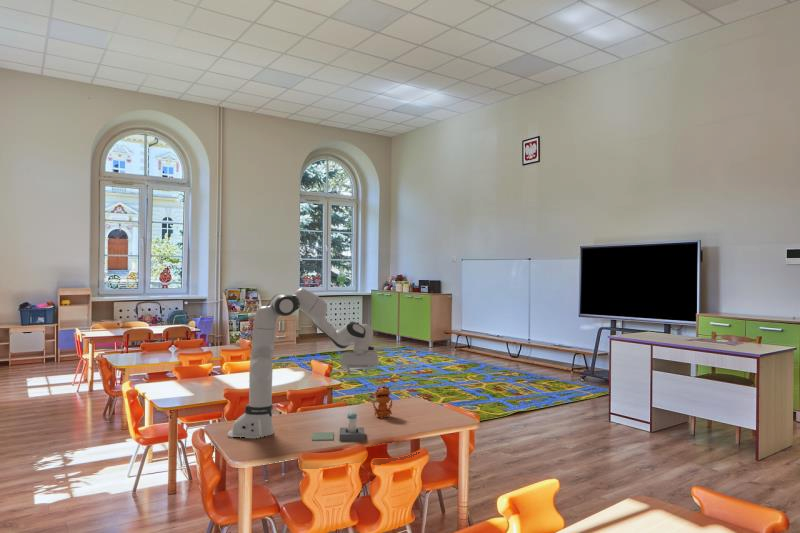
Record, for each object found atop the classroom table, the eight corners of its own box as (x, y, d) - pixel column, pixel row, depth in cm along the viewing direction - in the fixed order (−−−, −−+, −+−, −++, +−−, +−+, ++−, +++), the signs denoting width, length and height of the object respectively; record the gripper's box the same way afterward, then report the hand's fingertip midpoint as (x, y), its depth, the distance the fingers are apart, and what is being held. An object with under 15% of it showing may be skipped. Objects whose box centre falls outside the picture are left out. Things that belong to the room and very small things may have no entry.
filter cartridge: (347, 438, 264) (347, 415, 265) (347, 435, 269) (347, 413, 269) (356, 438, 265) (356, 415, 265) (356, 435, 269) (356, 413, 269)
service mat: (311, 442, 260) (312, 439, 260) (313, 435, 272) (313, 432, 272) (333, 442, 261) (333, 439, 261) (333, 435, 273) (333, 432, 273)
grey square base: (339, 442, 260) (339, 434, 260) (339, 435, 272) (339, 427, 272) (364, 442, 261) (364, 434, 261) (363, 435, 273) (363, 427, 273)
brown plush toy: (375, 419, 304) (375, 387, 304) (371, 415, 314) (371, 383, 314) (394, 418, 307) (395, 386, 307) (389, 414, 317) (390, 383, 317)
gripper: (341, 348, 290) (336, 370, 280) (378, 347, 286) (374, 370, 276) (344, 355, 294) (339, 376, 285) (381, 354, 290) (377, 377, 280)
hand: (357, 373), depth 280 cm, fingers open, 8 cm apart
